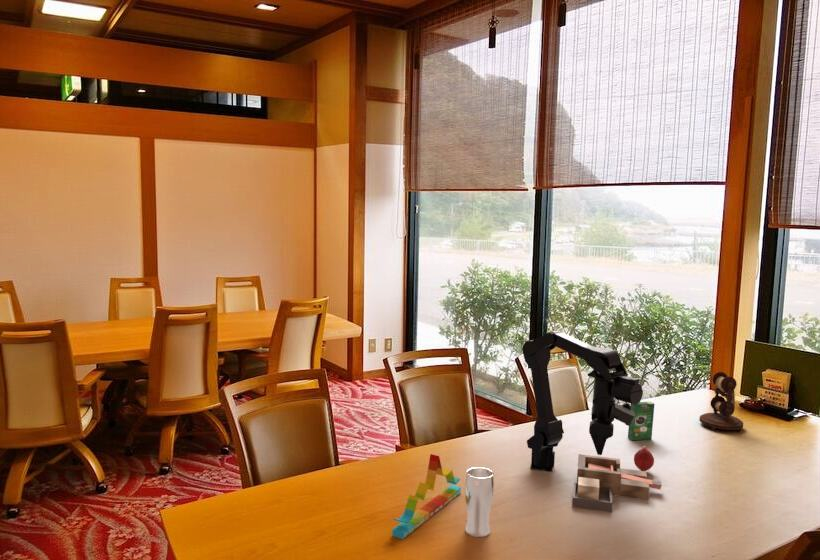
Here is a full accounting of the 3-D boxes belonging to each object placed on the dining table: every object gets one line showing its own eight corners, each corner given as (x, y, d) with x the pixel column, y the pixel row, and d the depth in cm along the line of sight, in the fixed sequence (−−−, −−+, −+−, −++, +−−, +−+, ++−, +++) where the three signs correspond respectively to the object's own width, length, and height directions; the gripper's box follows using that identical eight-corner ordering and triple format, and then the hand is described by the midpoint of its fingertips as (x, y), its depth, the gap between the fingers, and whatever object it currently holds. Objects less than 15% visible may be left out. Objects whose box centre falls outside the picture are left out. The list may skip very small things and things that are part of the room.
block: (577, 500, 176) (578, 484, 175) (577, 492, 181) (578, 476, 181) (598, 503, 174) (599, 487, 174) (598, 495, 180) (599, 479, 179)
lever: (587, 475, 185) (588, 468, 185) (587, 466, 192) (589, 459, 191) (661, 492, 180) (663, 485, 180) (659, 482, 187) (660, 476, 186)
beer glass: (461, 524, 163) (463, 467, 161) (488, 523, 164) (491, 466, 162) (466, 538, 156) (468, 478, 154) (494, 538, 157) (497, 478, 155)
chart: (403, 540, 155) (405, 480, 153) (392, 536, 157) (393, 477, 155) (461, 494, 181) (463, 442, 179) (451, 491, 183) (452, 439, 181)
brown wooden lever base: (576, 490, 184) (577, 468, 183) (577, 474, 195) (578, 454, 194) (648, 500, 179) (650, 477, 178) (645, 483, 190) (646, 462, 189)
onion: (654, 476, 195) (656, 450, 194) (634, 474, 196) (636, 449, 195) (651, 469, 201) (653, 444, 200) (631, 467, 202) (633, 442, 201)
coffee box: (647, 436, 229) (650, 400, 228) (652, 439, 226) (655, 403, 225) (627, 438, 227) (629, 401, 226) (631, 441, 225) (634, 404, 223)
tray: (572, 506, 174) (572, 497, 174) (573, 490, 184) (573, 482, 184) (611, 512, 171) (612, 503, 171) (610, 496, 181) (611, 487, 181)
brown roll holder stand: (750, 434, 234) (755, 380, 232) (709, 433, 235) (713, 379, 232) (731, 420, 249) (735, 369, 247) (692, 419, 249) (696, 368, 247)
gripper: (635, 408, 170) (630, 465, 172) (633, 389, 188) (629, 441, 190) (591, 403, 173) (587, 459, 175) (593, 385, 191) (590, 436, 193)
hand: (600, 448), depth 183 cm, fingers open, 9 cm apart
